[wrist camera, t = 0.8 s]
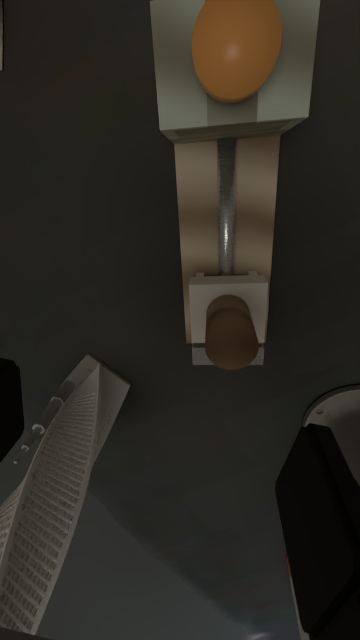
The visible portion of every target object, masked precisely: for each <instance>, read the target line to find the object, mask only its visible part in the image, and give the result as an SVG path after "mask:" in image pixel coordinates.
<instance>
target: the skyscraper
mask: <svg viewBox="0 0 360 640" xmlns="http://www.w3.org/2000/svg"><path fill="white" fill-rule="evenodd" d="M130 385H131V383H130V382H128V381H127V380H126V379H124V378H123V377H121V376H120V375H119V374H117V373H116V372H115V371H113V370H112V369H110V368H109V367H108V366H106V365H105V364H104V363H102V362H101V361H99V360H98V359H97V358H95V357H94V356H93V355H91V354H90V353H88V354H87V355H86V356H85V357H84V358H83V360H82V361H81V362H80V363H79V364H78V365H77V366H76V368H75V369H74V370H73V371H72V372H71V373H70V375H69V376H68V377H67V378H66V379H65V380H64V382H63V383H62V384H61V385H60V386H61V387H60V388H59V390H58V391H57V392H56V394H55V395H54V397H53V398H52V399H51V400H50V403H49V405H48V406H47V408H46V409H45V410H44V412H43V413H42V415H41V416H40V418H39V419H38V420H37V422H36V423H35V424H34V426H33V427H32V429H33V432H32V433H31V435H30V436H29V438H28V439H27V441H26V442H25V443H24V445H23V446H22V451H21V452H20V454H19V455H18V457H17V458H16V459H15V461H14V463H15V464H16V463H17V462H18V461H19V459H20V458H21V456H22V455H23V454H24V452H25V451H28V450H29V448H30V446H31V445H32V444H33V442H34V441H35V439H36V438H37V437H38V435H39V434H43V433H44V432H45V430H46V428H47V426H48V425H49V423H50V422H51V421H52V419H53V418H54V416H55V415H56V413H57V412H58V411H59V412H58V413H57V415H56V416H55V418H54V419H53V421H52V423H51V424H50V426H49V428H48V430H47V431H46V433H45V435H44V437H43V439H42V441H41V443H40V445H39V447H38V449H37V451H36V453H35V456H34V458H33V461H32V463H31V465H30V467H29V470H28V472H27V475H26V477H25V478H24V480H23V481H22V483H21V484H20V485H19V486H18V487H17V488H16V489H15V491H14V492H13V493H12V494H11V495H10V496H9V497H8V498H7V499H6V500H5V501H4V503H3V504H2V505H1V506H0V627H3V628H7V629H11V630H15V631H19V632H24V633H28V634H32V635H35V633H36V631H37V628H38V626H39V623H40V621H41V618H42V616H43V613H44V611H45V608H46V606H47V603H48V601H49V598H50V596H51V593H52V590H53V588H54V585H55V582H56V580H57V578H58V575H59V572H60V569H61V567H62V564H63V561H64V559H65V556H66V553H67V550H68V548H69V545H70V542H71V539H72V536H73V533H74V530H75V527H76V524H77V521H78V517H79V514H80V511H81V507H82V504H83V501H84V497H85V493H86V489H87V485H88V481H89V477H90V472H91V468H92V466H93V464H94V462H95V460H96V458H97V456H98V454H99V452H100V450H101V448H102V446H103V444H104V442H105V440H106V438H107V436H108V434H109V432H110V430H111V427H112V425H113V423H114V421H115V419H116V417H117V414H118V412H119V410H120V408H121V405H122V403H123V401H124V399H125V397H126V394H127V392H128V390H129V387H130ZM71 393H72V394H71ZM70 394H71V395H70ZM68 397H69V398H68ZM67 398H68V399H67ZM65 401H66V402H65ZM60 408H61V409H60ZM59 409H60V410H59ZM53 568H54V569H53Z"/></svg>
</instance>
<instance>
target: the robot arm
mask: <svg viewBox="0 0 360 640" xmlns="http://www.w3.org/2000/svg"><path fill="white" fill-rule="evenodd" d="M23 430H24V416H23V404H22V392H21V379H20V369H19V367H18V366H16V364H15V362H14V361H12V360H8V359H3V358H0V462H1V461H2V460H3V458H4V457H5V456H6V455H7V453H8V452H9V451H10V450H11V448H12V447H13V446H14V445H15V443H16V442H17V441H18V439H19V438H20V437H21V435H22V433H23ZM275 492H276V498H277V503H278V508H279V514H280V519H281V524H282V529H283V535H284V540H285V545H286V550H287V556H288V561H289V566H290V571H291V577H292V582H293V587H294V592H295V598H296V603H297V608H298V613H299V619H300V623H301V626H302V629H303V631H304V632H305V633H308V635H309V640H360V385H355V386H347V387H343V388H339V389H336V390H334V391H331V392H329V393H327V394H325V395H324V396H322V397H320V398H319V399H318V400H317V401H315V402H314V403H313V404H312V405H311V406H310V408H309V409H308V410H307V412H306V414H305V416H304V419H303V422H302V427H301V429H300V431H299V433H298V435H297V437H296V440H295V442H294V444H293V446H292V448H291V450H290V453H289V455H288V457H287V459H286V461H285V464H284V466H283V468H282V470H281V472H280V474H279V477H278V479H277V481H276V486H275ZM0 640H52V639H48V638H44V637H40V636H36V635H32V634H28V633H24V632H19V631H15V630H11V629H7V628H3V627H0Z"/></svg>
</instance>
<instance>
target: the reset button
mask: <svg viewBox="0 0 360 640" xmlns="http://www.w3.org/2000/svg"><path fill="white" fill-rule="evenodd" d="M281 39H282V27H281V20H280V15H279V12H278V9H277V6H276V4H275V2H274V1H273V0H207V1H206V2H205V3H204V5H203V7H202V8H201V10H200V12H199V14H198V16H197V19H196V22H195V25H194V29H193V33H192V58H193V64H194V70H195V73H196V76H197V79H198V81H199V83H200V85H201V86H202V88H203V89H204V90H205V92H206V93H207V94H208V95H210V96H211V97H212V98H214V99H216V100H218V101H221V102H224V103H236V102H240V101H243V100H246V99H248V98H249V97H251V96H252V95H254V94H255V93H256V92H257V91H258V90H259V89H260V88H261V87H262V86H263V84H264V83H265V82H266V80H267V78H268V77H269V75H270V73H271V71H272V69H273V68H274V65H275V63H276V61H277V58H278V55H279V51H280V47H281Z"/></svg>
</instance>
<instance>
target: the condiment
mask: <svg viewBox="0 0 360 640" xmlns="http://www.w3.org/2000/svg"><path fill="white" fill-rule="evenodd" d="M2 19H3V13H2V0H0V70H2V50H3V41H2V35H3V22H2Z"/></svg>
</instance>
